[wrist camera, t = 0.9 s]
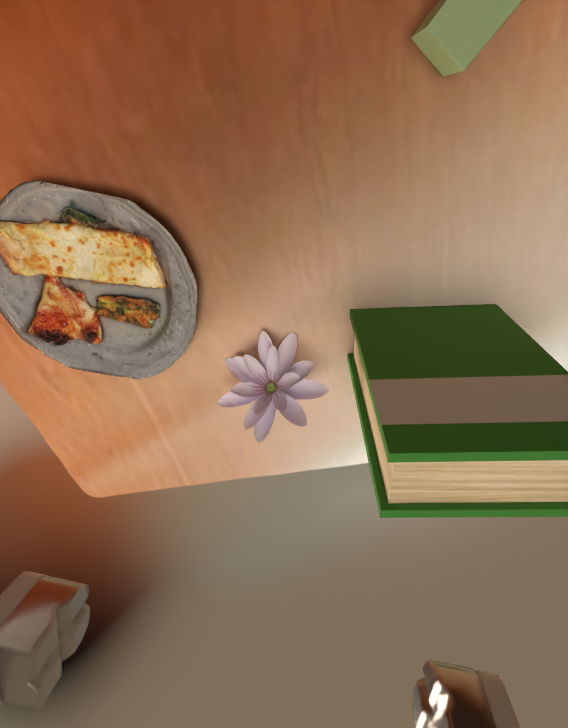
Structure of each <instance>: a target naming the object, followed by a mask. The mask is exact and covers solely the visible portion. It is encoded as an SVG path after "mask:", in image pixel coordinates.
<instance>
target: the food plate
mask: <svg viewBox="0 0 568 728" xmlns="http://www.w3.org/2000/svg"><path fill="white" fill-rule="evenodd" d="M42 182H43V181H42ZM185 257H186V256H184V254H183V252H182V251H181V248H180V246H179V245H178V244H177V242H176V241H175V239H174V238H173V237H172V236H171V234H170V233H169V232H168V230H166V229H165V228H164V227H163V226H162V225H161V223H159V222H158V221H157V220H156V219H154V217H153V216H151V215H150V214H148V213H147V212H146V211H144V210H142V209H141V208H140V207H139V206H137V205H136V204H135V203H134V202H133V201H132V202H131V201H130V200H126V199H125V198H124V200H123V199H121V198H120V197H118V198H117V197H116V196H111V195H105V194H101V193H96V192H92V191H87V190H82V189H77V188H72V187H67V186H62V185H57V184H52V183H51V184H50V183H48V182H46V183H45V182H43V184H42V183H41V181H34V182H33V181H32V182H28V183H27V182H25V183H23V184H21V185H18V186H17V187H16V188H14V189H12V190H10V191H9V193H8V194H7V195H6V196H5V197H4V198H3V199H2V201H1V202H0V312H1V313H2V315H3V316H4V317H5V319H6V320H7V321H8V322H9V324H10V325H11V326H12V327H13V329H14V330H15V331H16V333H17V334H18V335H19V336H20V337H21V338H22V339H23V340H24V341H26V342H27V343H28V344H30V345H31V346H34V347H35V348H37V349H39V350H40V351H42V352H43V353H44V355H46V356H48V357H50V358H52V359H54V360H57V361H59V362H60V363H62V364H64V365H65V366H67V367H69V368H73V369H77V370H83V371H89V372H94V373H95V372H96V373H100V374H105V375H108V374H109V375H114V376H117V377H118V376H119V377H126V376H127V377H129V378H132V379H141V378H143V379H144V378H147V377H148V378H150V377H152V376H155V375H157V374H159V373H161V372H163V371H164V370H166V369H168V368H169V367H170V366H171V365H172V364H174V363H175V361H176V360H178V358H179V357H181V356H182V354H184V353H185V350H187V348H188V347H189V343H190V342H191V339H192V336H193V335H194V334H193V333H195V332H194V329H195V324H196V317H197V316H196V315H197V314H196V313H197V291H198V289H197V283H196V280H195V277H194V275H193V272H192V270H191V268H190V267H189V263H188V262H187V259H186V258H185Z"/></svg>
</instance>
